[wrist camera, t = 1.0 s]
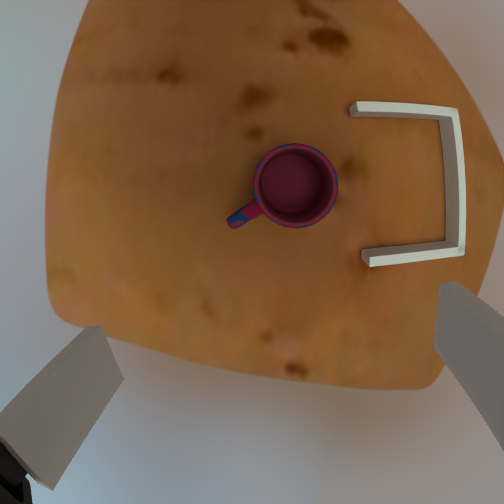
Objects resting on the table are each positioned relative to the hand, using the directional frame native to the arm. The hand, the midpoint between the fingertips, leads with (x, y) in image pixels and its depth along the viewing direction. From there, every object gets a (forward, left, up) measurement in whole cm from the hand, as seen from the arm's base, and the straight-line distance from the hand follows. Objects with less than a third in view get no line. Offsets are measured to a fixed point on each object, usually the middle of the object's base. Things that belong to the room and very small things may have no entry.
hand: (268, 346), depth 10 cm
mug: (-4, +1, -21) cm, 22 cm away
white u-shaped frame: (-4, +15, -21) cm, 26 cm away
